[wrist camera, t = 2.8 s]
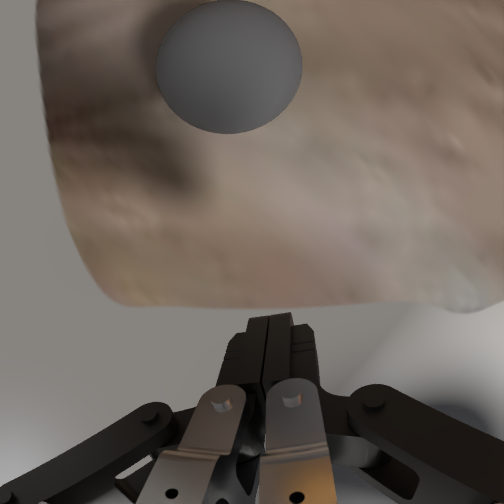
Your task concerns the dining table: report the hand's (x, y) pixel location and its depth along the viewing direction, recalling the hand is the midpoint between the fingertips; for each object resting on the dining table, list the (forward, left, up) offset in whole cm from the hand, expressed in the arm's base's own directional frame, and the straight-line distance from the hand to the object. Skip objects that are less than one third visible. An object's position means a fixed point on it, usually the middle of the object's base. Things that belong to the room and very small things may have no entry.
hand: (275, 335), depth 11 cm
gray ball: (-10, 0, -4) cm, 11 cm away
